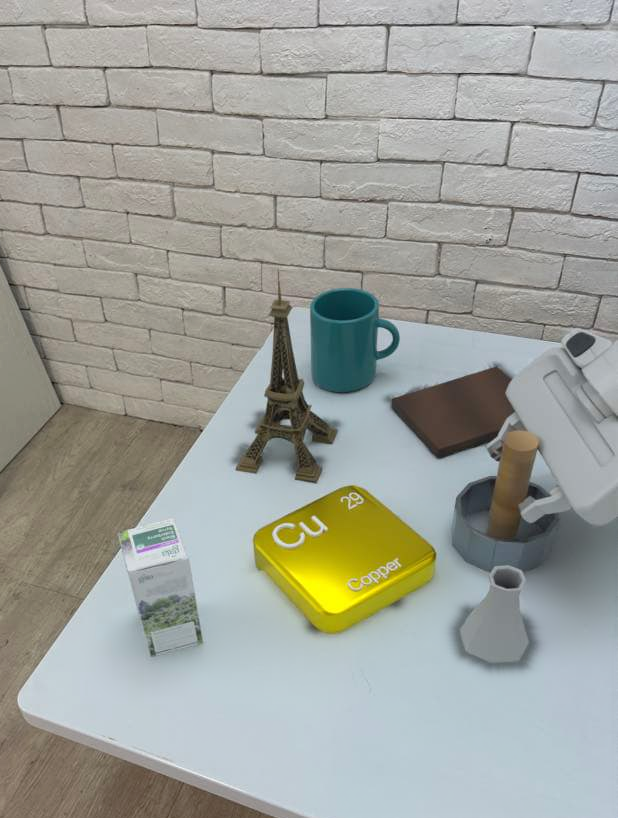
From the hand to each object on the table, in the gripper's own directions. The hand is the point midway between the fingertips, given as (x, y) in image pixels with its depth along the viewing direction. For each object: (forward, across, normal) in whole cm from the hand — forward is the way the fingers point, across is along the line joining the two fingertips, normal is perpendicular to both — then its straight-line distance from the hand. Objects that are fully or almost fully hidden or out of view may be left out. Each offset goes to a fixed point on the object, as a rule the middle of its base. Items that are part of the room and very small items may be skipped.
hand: (506, 484), depth 81 cm
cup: (+12, +36, -1) cm, 38 cm away
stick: (+6, 0, -7) cm, 9 cm away
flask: (+10, -13, -4) cm, 16 cm away
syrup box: (+32, -7, +18) cm, 38 cm away
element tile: (+19, -1, +5) cm, 19 cm away
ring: (+6, 0, -7) cm, 9 cm away
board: (+3, +24, -10) cm, 26 cm away
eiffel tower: (+21, +22, +7) cm, 31 cm away
